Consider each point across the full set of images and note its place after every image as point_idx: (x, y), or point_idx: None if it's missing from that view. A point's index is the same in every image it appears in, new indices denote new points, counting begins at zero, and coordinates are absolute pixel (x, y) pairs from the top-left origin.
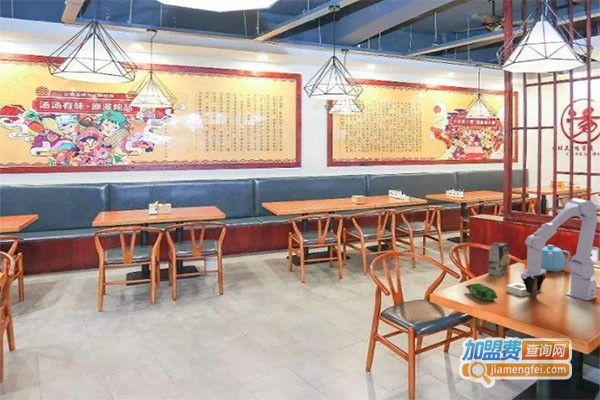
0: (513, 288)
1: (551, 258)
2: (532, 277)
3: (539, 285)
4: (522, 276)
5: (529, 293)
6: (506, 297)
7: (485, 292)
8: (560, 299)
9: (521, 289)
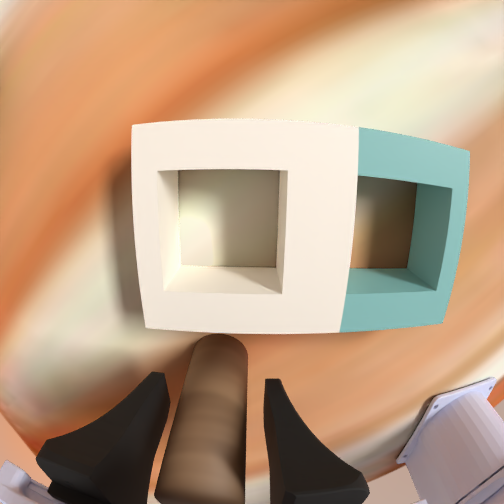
0: (138, 219)
1: None
2: (221, 494)
3: (268, 453)
4: (8, 483)
5: (190, 365)
6: (53, 244)
7: None
8: (338, 431)
9: (154, 315)
